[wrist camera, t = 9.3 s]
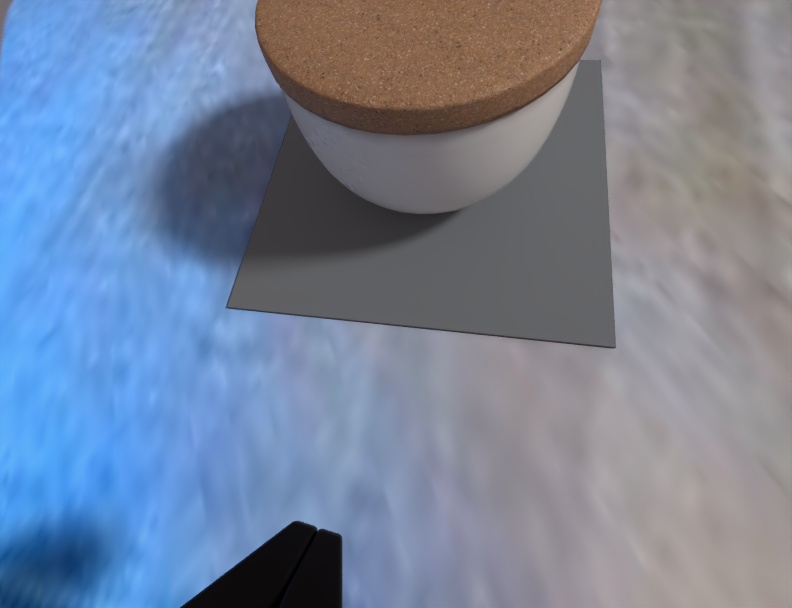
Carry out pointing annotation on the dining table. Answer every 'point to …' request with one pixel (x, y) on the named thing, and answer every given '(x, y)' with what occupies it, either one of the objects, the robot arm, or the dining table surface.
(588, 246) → the placemat
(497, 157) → the lidded bowl
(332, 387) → the dining table surface
